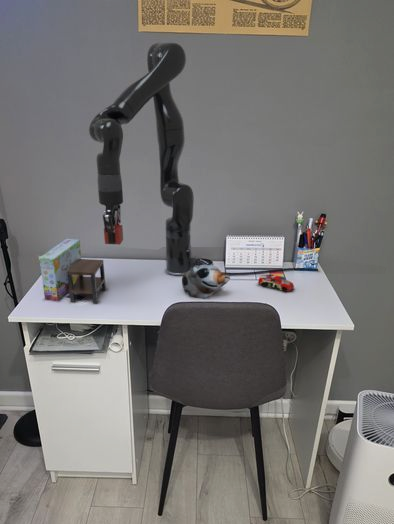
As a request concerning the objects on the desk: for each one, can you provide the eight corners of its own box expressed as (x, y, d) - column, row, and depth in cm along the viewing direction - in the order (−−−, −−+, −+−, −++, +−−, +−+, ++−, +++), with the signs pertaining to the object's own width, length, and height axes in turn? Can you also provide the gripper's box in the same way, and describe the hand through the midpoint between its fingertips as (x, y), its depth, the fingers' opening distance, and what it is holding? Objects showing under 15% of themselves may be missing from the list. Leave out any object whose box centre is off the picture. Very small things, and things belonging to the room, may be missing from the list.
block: (123, 239, 164) (122, 225, 161) (119, 244, 160) (118, 229, 157) (108, 239, 164) (107, 224, 162) (104, 243, 160) (103, 228, 157)
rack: (106, 289, 174) (103, 259, 169) (97, 303, 164) (93, 272, 159) (81, 288, 175) (77, 258, 169) (70, 302, 165) (66, 271, 159)
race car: (295, 288, 177) (297, 278, 175) (289, 293, 173) (291, 283, 171) (262, 280, 183) (263, 270, 181) (256, 285, 179) (257, 275, 177)
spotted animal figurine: (220, 283, 179) (234, 257, 168) (219, 308, 172) (233, 282, 161) (181, 273, 176) (192, 245, 165) (178, 298, 169) (189, 271, 158)
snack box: (59, 301, 165) (53, 258, 158) (44, 299, 166) (37, 257, 159) (84, 277, 183) (80, 238, 175) (70, 276, 184) (65, 237, 176)
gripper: (116, 193, 147) (120, 248, 155) (126, 183, 159) (129, 234, 168) (92, 192, 147) (97, 247, 156) (104, 182, 160) (108, 233, 168)
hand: (114, 240), depth 162 cm, fingers closed on block, 5 cm apart
